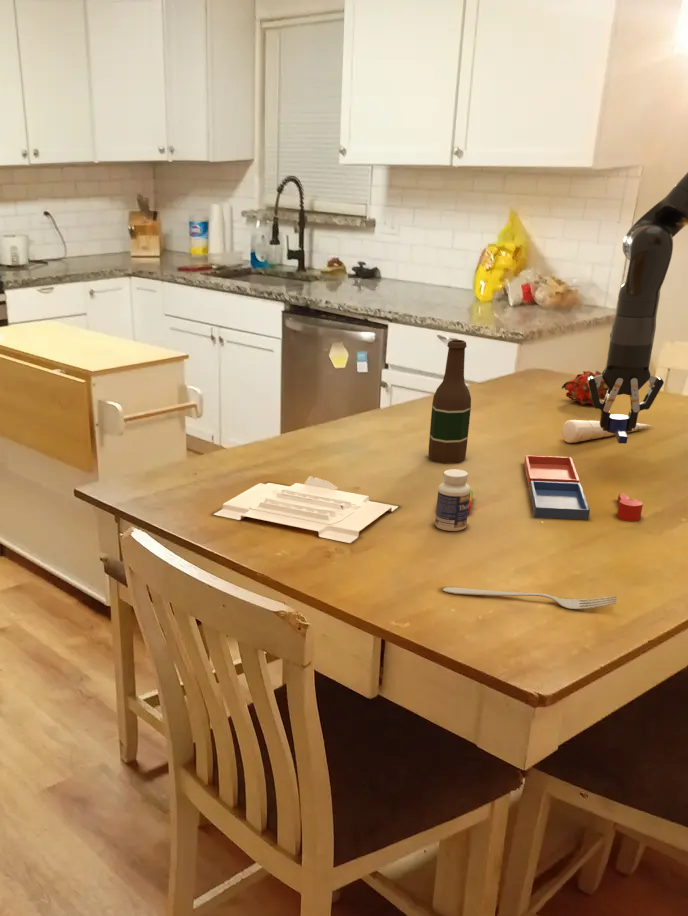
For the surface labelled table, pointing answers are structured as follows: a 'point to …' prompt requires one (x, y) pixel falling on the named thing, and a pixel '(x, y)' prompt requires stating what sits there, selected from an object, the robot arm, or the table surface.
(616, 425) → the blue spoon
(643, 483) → the table surface
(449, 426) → the beer bottle
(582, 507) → the blue tray
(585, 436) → the unicorn horn
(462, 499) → the pill bottle
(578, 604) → the fork
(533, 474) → the red tray
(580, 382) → the dragon fruit
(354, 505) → the tray
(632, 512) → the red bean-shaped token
